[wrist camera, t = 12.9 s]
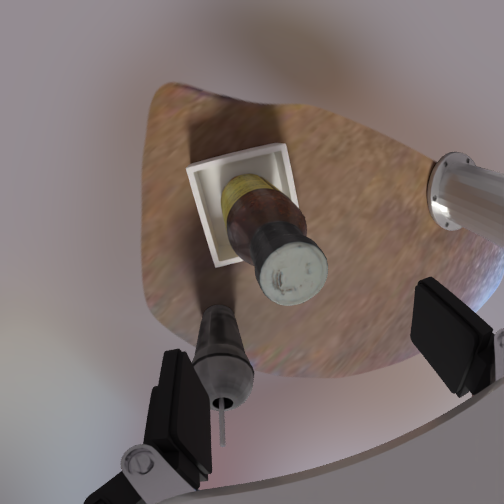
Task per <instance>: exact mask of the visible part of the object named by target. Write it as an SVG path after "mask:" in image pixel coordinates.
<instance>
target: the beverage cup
mask: <svg viewBox="0 0 504 504" xmlns="http://www.w3.org/2000/svg"><path fill="white" fill-rule="evenodd" d="M192 365H193V367H194V369H195V371H196V373H197V375H198V377H199V379H200V380H201V382H202V384H203V386H204V388H205V390H206V392H207V394H208V396H209V399H210V409H212V410H216V411H219V424H220V446H221V447H225V420H224V411H228V410H232V409H235V408H237V407H239V406H240V405H241V404H243V403H244V402H245V401H246V399H247V398H248V396H249V395H250V393H251V391H252V387H253V380H254V379H253V378H254V370H253V367H252V366H251V364H250V362H249V360H248V357H247V356H246V354H245V351H244V347H243V344H242V340H241V336H240V333H239V329H238V325H237V322H236V319H235V316H234V313H233V311H232V310H231V309H230V308H228V307H227V306H223V305H214V306H211V307H209V308H208V309H207V310H206V311H205V312H204V314H203V318H202V321H201V325H200V330H199V335H198V341H197V346H196V351H195V356H194V359H193V361H192Z"/></svg>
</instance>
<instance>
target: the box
mask: <svg viewBox="0 0 504 504" xmlns="http://www.w3.org/2000/svg"><path fill="white" fill-rule="evenodd" d="M186 170H187V174H188V177H189V181H190V185H191V188H192V192H193V195H194V199H195V202H196V205H197V209H198V212H199V216H200V219H201V222H202V226H203V229H204V232H205V236H206V239H207V242H208V246H209V249H210V252H211V255H212V259H213V262H214V265H215V268H217V267H221V266H225V265H229V264H233V263H237V262H241V261H243V260H242V259H241V258H240V257H239V256H238V255H237V254H236V253H235V252H234V250H233V249H232V247H231V245H230V242H229V239H228V236H227V232H226V227H225V223H224V218H223V214H222V209H221V196H222V191H223V189H224V187H225V186H226V185H227V183H228V182H229V181H230V180H231V179H232V178H234V177H235V176H238V175H243V174H256V175H258V176H259V177H263V178H264V179H266V180H267V181H268V182H270V183H271V184H272V185H274V186H275V187H276V188H278V189H279V190H280V191H281V192H283V193H284V194H285V195H286V196H288V197H289V198H290V200H291V201H292V202H293V203H294V204H295V205H296V206H297V207H298V208H299V206H298V201H297V196H296V191H295V186H294V181H293V176H292V171H291V166H290V161H289V156H288V152H287V147H286V144H284V143H272V144H267V145H263V146H258V147H254V148H250V149H245V150H241V151H237V152H233V153H229V154H225V155H221V156H217V157H213V158H210V159H206V160H202V161H199V162H195V163H192V164H190V165H189V166H188V167H187V168H186Z"/></svg>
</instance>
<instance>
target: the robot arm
mask: <svg viewBox="0 0 504 504" xmlns="http://www.w3.org/2000/svg"><path fill="white" fill-rule="evenodd" d="M427 200H428V207H429V210H430V214H431V216H432V218H433V220H434V221H435V222H436V223H437V224H438V225H439V226H440V227H442V228H444V229H446V230H450V231H451V230H457V229H460V228H462V227H464V228H465V229H467V230H469V231H471V232H473V233H475V234H477V235H479V236H481V237H483V238H484V239H486V240H488V241H490V242H492V243H493V244H495V245H497V246H499V247H501V248H502V249H504V174H502V173H499V172H495V171H492V170H488V169H485V168H481V167H477V166H476V165H475V163H474V162H473V160H472V159H471V158H470V157H469V156H467V155H466V154H463V153H459V152H450V153H448V154H446V155H444V156H443V157H442V158H441V159H440V160H439V161H438V162H437V163H436V165H435V167H434V168H433V171H432V173H431V176H430V179H429V183H428V191H427ZM492 331H493V329H492V328H491V327H490V326H489V325H488V324H487V323H486V322H485V321H484V320H483V319H482V318H480V317H479V316H478V315H477V314H476V313H475V312H474V311H473V310H471V309H470V308H469V307H468V306H467V305H466V304H464V303H463V302H462V301H461V300H460V299H459V298H457V297H456V296H455V295H454V294H453V293H451V292H450V291H449V290H448V289H447V288H445V287H444V286H443V285H442V284H440V283H439V282H438V281H437V280H435V279H434V278H433V277H428V278H425V279H423V280H420V281H419V282H418V285H417V286H416V287H415V297H414V308H413V317H412V326H411V334H410V336H411V340H412V342H413V344H414V345H415V346H416V347H417V348H418V350H419V351H420V352H421V353H422V355H423V356H424V357H425V359H426V360H427V361H428V362H429V364H430V365H431V366H432V367H433V369H434V370H435V371H436V373H437V374H438V375H439V376H440V378H441V379H442V380H443V382H444V383H445V384H446V386H447V387H448V388H449V390H450V391H451V392H452V393H456V394H457V396H458V397H459V398H460V397H462V396H464V395H465V394H467V393H468V392H469V391H470V392H471V393H472V397H471V398H470V399H468V400H466V401H465V402H463V403H462V404H460V405H458V406H457V407H455V408H454V409H452V410H450V411H448V412H447V413H445V414H443V415H441V416H440V417H438V418H436V419H434V420H432V421H430V422H428V423H427V424H425V425H423V426H421V427H419V428H417V429H415V430H413V431H411V432H409V433H407V434H404V435H402V436H400V437H398V438H396V439H394V440H391V441H389V442H387V443H384V444H382V445H380V446H377V447H375V448H372V449H370V450H367V451H365V452H362V453H359V454H357V455H354V456H351V457H348V458H345V459H342V460H339V461H336V462H333V463H330V464H326V465H323V466H320V467H316V468H313V469H310V470H305V471H302V472H298V473H294V474H289V475H285V476H281V477H277V478H272V479H266V480H262V481H256V482H250V483H245V484H238V485H232V486H224V487H218V488H212V489H205V490H198V488H199V487H200V481H208V474H211V473H212V456H211V425H210V399H209V396H208V394H207V392H206V390H205V388H204V386H203V384H202V382H201V380H200V379H199V377H198V375H197V373H196V371H195V369H194V367H193V365H192V363H191V361H190V359H189V357H188V355H187V353H186V352H181V350H180V349H174V350H169V351H165V352H164V356H163V361H162V367H161V372H160V378H159V384H158V386H155V387H153V389H152V393H151V398H150V404H149V410H148V416H147V423H146V429H145V435H144V442H143V444H140V445H135V446H133V447H131V448H129V449H128V450H127V451H126V452H125V453H124V455H123V456H122V459H121V469H122V471H121V472H120V473H119V474H117V475H116V476H115V477H114V478H112V479H111V480H109V481H108V482H107V483H106V484H104V485H103V486H102V487H100V488H99V489H98V490H96V491H95V492H93V493H92V494H91V495H89V496H88V498H86V500H85V502H84V504H504V328H503V329H500V330H499V331H497V332H496V334H493V333H492Z"/></svg>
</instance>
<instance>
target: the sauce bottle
mask: <svg viewBox="0 0 504 504" xmlns="http://www.w3.org/2000/svg"><path fill="white" fill-rule="evenodd" d="M221 209H222V214H223V218H224V223H225V227H226V232H227V236H228V239H229V242H230V245H231V247H232V249H233V250H234V252H235V253H236V254H237V255H238V256H239V257H240V258H241V259H242V260H243V261H245V262H247V263H249V264H251V265H253V266H255V276H256V279H257V281H258V283H259V285H260V288H261V289H262V291H263V293H264V294H265V295H266V296H267V297H268V298H269V299H270V300H272V301H274V302H276V303H277V304H280V305H286V306H291V305H296V304H300V303H304V302H305V301H307V300H309V299H311V298H312V297H313V296H315V295H316V294H317V293H318V292H319V291H320V289H321V288H322V287H323V285H324V283H325V281H326V278H327V274H328V264H327V258H326V257H325V255H324V253H323V252H322V250H321V249H320V248H319V247H318V246H317V244H316V243H315V242H314V241H313V240H311V239H310V238H308V237H306V235H307V225H306V221H305V217H304V216H303V214H302V212H301V211H300V209H299V208H298V207H297V206H296V205H295V204H294V203H293V202H292V201H291V200H290V198H289V197H288V196H286V195H285V194H284V193H283V192H281V191H280V190H279V189H278V188H276V187H275V186H274V185H272V184H271V183H270V182H268V181H267V180H266V179H264V178H263V177H259V176H258V175H256V174H243V175H238V176H235V177H234V178H232V179H231V180H230V181H229V182H228V183H227V185H226V186H225V187H224V189H223V191H222V196H221Z"/></svg>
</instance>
